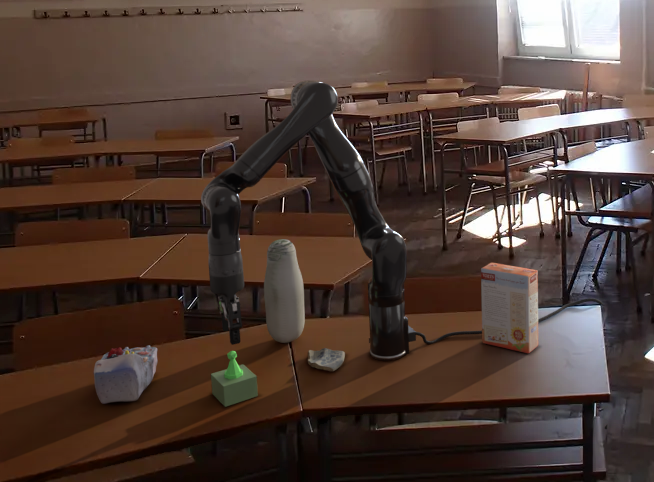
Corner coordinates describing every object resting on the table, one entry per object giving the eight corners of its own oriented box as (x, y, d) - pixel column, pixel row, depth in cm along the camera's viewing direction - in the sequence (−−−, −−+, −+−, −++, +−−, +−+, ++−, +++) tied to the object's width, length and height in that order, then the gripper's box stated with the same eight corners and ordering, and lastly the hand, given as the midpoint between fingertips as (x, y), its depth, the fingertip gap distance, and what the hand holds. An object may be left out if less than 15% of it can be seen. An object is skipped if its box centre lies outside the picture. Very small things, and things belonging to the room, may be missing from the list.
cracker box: (539, 346, 217) (538, 269, 213) (528, 354, 212) (528, 276, 208) (492, 335, 224) (491, 260, 221) (481, 343, 219) (480, 267, 216)
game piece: (245, 376, 193) (243, 351, 192) (227, 380, 191) (225, 356, 190) (240, 369, 196) (238, 345, 195) (221, 373, 194) (220, 349, 193)
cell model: (87, 367, 186) (101, 333, 205) (91, 412, 188) (105, 374, 207) (148, 358, 189) (156, 326, 208) (152, 403, 191) (160, 367, 210)
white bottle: (272, 332, 229) (266, 235, 224) (309, 332, 229) (304, 234, 224) (263, 348, 219) (256, 246, 215) (301, 348, 219) (295, 245, 214)
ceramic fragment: (310, 347, 216) (346, 344, 214) (312, 358, 216) (348, 355, 214) (295, 365, 205) (333, 362, 203) (297, 377, 206) (335, 374, 204)
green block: (244, 383, 200) (243, 364, 199) (258, 396, 193) (256, 376, 193) (212, 393, 195) (210, 373, 194) (225, 407, 189) (223, 386, 188)
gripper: (249, 276, 185) (254, 344, 187) (235, 258, 197) (240, 322, 200) (215, 282, 181) (221, 352, 184) (203, 263, 194) (209, 329, 197)
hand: (231, 336), depth 192 cm, fingers open, 8 cm apart
